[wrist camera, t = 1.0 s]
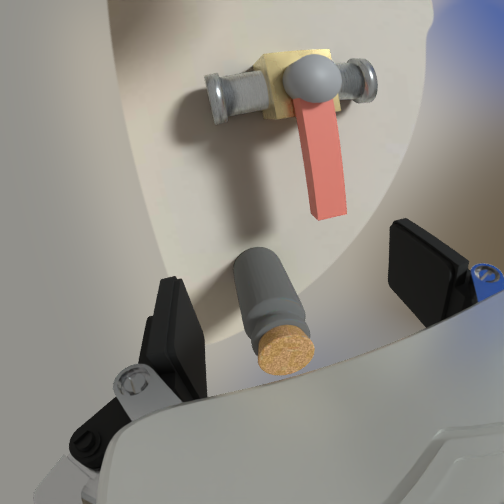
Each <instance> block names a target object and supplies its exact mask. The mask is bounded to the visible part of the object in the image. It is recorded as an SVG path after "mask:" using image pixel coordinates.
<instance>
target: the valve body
mask: <svg viewBox="0 0 504 504" xmlns="http://www.w3.org/2000/svg"><path fill="white" fill-rule="evenodd" d="M310 54H319V55H323V56H325V57H327V58H329V59H330V60H332V59H331V54H330V50H329V49H317V50H300V51H287V52H277V53H268V54H263V55H262V56H261V57H260V58H259V59H258V61H257V62H256V63H255V64H254V65H253V69H254V71H252V72H246V73H240V74H235V75H229V76H224V77H219V75H218V73H214V74H209V75H205V76H204V78H205V83H206V88H207V93H208V98H209V102H210V107H211V111H212V115H213V119H214V123H215V125H216V124H221V123H225V122H228V117H229V116H234V115H238V114H243V113H249V112H254V111H259V110H262V112H263V117H264V119H283V118H289V117H296V113H295V108H294V103H293V99H292V98H291V97H290V96H289V95H288V94H287V93H286V91H285V89H284V86H283V74H284V71H285V69H286V68H287V67H288V66H289V65H290V64H292V63H293V62H295V61H297V60H299V59H300V58H302V57H304V56H306V55H310ZM335 64H336V66H337V67H338V69H339V71H340V74H341V78H342V84H341V88H340V91H339V92H338V94H337V95H336V96H335V97H334V98H333V101H334V107H335V111H341V108H340V102H339V100H346V99H352V100H353V101H354V102H356V103H369V102H372V101H373V100H374V99H375V97H376V94H377V88H378V84H377V77H376V73H375V70H374V68H373V66H372V65H371V64H370V62H369V61H367V60H366V59H350V60H348V61H347V63H335Z"/></svg>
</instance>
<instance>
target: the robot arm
mask: <svg viewBox="0 0 504 504" xmlns="http://www.w3.org/2000/svg"><path fill="white" fill-rule="evenodd" d="M468 264H469V261H468V260H467V259H466V258H464V257H463V256H461V255H460V254H459V253H457V252H456V251H455V250H453V249H451V248H450V247H449V246H448V245H446V244H444V243H443V242H442V241H440V240H439V239H437V238H436V237H435V236H433V235H432V234H430V233H429V232H427V231H426V230H424V229H423V228H421V227H419V226H418V225H416V224H415V223H413V222H412V221H410V220H409V219H407V218H404V219H400V220H396V221H394V222H393V224H392V225H391V226H390V242H389V270H388V283H389V286H390V288H391V289H392V290H393V291H394V292H395V293H396V294H397V295H398V296H399V298H400V299H401V300H402V301H403V302H404V303H405V304H406V305H407V306H408V307H409V309H410V310H411V311H412V312H413V313H414V314H415V315H416V317H417V318H418V319H419V320H420V321H421V322H422V323H423V325H424V326H425V327H426V328H425V329H423V330H421V331H418V332H416V333H414V334H411V335H409V336H407V337H404V338H402V339H400V340H397V341H395V342H392V343H390V344H387V345H385V346H382V347H380V348H377V349H374V350H372V351H369V352H367V353H364V354H361V355H358V356H356V357H353V358H350V359H347V360H344V361H341V362H338V363H335V364H332V365H329V366H326V367H323V368H320V369H317V370H314V371H310V372H307V373H304V374H300V375H297V376H293V377H290V378H286V379H282V380H279V381H275V382H271V383H268V384H263V385H259V386H255V387H251V388H247V389H243V390H238V391H234V392H229V393H225V394H220V395H216V396H211V397H207V383H206V364H205V340H204V334H203V331H202V329H201V326H200V324H199V321H198V319H197V316H196V314H195V311H194V309H193V306H192V304H191V301H190V298H189V296H188V293H187V291H186V288H185V285H184V283H183V280H182V279H177V278H176V276H173V277H169V278H165V279H161V281H160V285H159V290H158V294H157V299H156V304H155V309H154V315H153V316H149V317H148V318H147V321H146V326H145V331H144V336H143V341H142V346H141V351H140V356H139V362H138V364H134V365H131V366H129V367H127V368H125V369H124V370H122V371H121V372H120V373H119V374H118V375H117V377H116V378H115V380H114V383H113V390H114V393H115V395H116V397H115V398H114V399H113V400H111V401H110V402H109V403H108V404H107V405H106V406H104V407H103V408H102V409H101V410H100V411H98V412H97V413H96V414H95V415H94V416H93V417H92V418H90V419H89V420H88V421H87V422H85V423H84V424H83V425H82V426H81V427H79V428H78V429H77V430H76V431H75V432H74V434H73V435H72V437H71V439H70V443H69V450H70V454H69V455H68V456H65V455H63V456H62V457H61V458H60V460H59V461H58V462H57V463H56V465H55V466H54V467H53V468H52V469H51V471H50V472H49V473H48V474H47V476H46V477H45V478H44V479H43V480H42V482H41V483H40V484H39V485H38V487H37V488H36V490H35V492H34V497H33V499H34V504H504V276H503V274H502V272H501V271H500V270H499V269H498V268H496V267H495V266H492V265H489V264H484V263H481V264H476V265H474V266H473V267H472V269H471V271H470V270H469V269H468Z"/></svg>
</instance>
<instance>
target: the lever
mask: <svg viewBox="0 0 504 504" xmlns="http://www.w3.org/2000/svg"><path fill="white" fill-rule="evenodd" d="M341 84H342V78H341V74H340V71H339V69H338V67H337V66H336V64H335V63H334V62H333V61H332V60H330V59H329V58H327V57H325V56H323V55H319V54H310V55H306V56H304V57H302V58H300V59H299V60H297V61H295V62H293V63H292V64H290V65H289V66H288V67H287V68H286V69H285V71H284V74H283V86H284V89H285V91H286V93H287V94H288V95H289V96H290V97H291V98H292V99H293V103H294V108H295V113H296V119H297V125H298V130H299V136H300V142H301V148H302V154H303V161H304V167H305V174H306V181H307V188H308V195H309V203H310V211H311V214H312V215H313V216H314V217H315V218H316V219H317V220H318V221H319V220H323V219H327V218H332V217H336V216H340V215H345V214H347V208H346V195H345V184H344V174H343V165H342V156H341V148H340V140H339V133H338V126H337V119H336V113H335V107H334V101H333V98H334V97H335V96H336V95H337V94H338V92H339V91H340V88H341Z"/></svg>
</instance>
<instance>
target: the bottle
mask: <svg viewBox="0 0 504 504" xmlns="http://www.w3.org/2000/svg"><path fill="white" fill-rule="evenodd" d="M233 271H234V279H235V285H236V290H237V295H238V300H239V305H240V310H241V315H242V320H243V325H244V329H245V332H246V334H247V335H248V337H249V338H250V339H251V343H252V348H253V350H254V352H255V354H256V355H257V356H258V364H259V366H260V368H261V369H262V370H263V371H265V372H266V373H269V374H272V375H287V374H291V373H294V372H296V371H298V370H300V369H302V368H303V367H305V366H306V365H307V364H308V363H309V362H310V361H311V359H312V357H313V355H314V345H313V343H312V341H311V340H310V331H309V328H308V326H307V324H306V322H305V311H304V309H303V306H302V304H301V302H300V300H299V297H298V295H297V293H296V291H295V289H294V287H293V285H292V283H291V281H290V279H289V277H288V275H287V273H286V271H285V269H284V267H283V265H282V263H281V261H280V259H279V258H278V256H277V255H276V254H275V253H274V252H273V251H271V250H269V249H267V248H263V247H255V248H251V249H248V250H246V251H244V252H243V253H242V254H241V255H240V256H239V257H238V258H237V259H236V261H235V264H234V269H233Z"/></svg>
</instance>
